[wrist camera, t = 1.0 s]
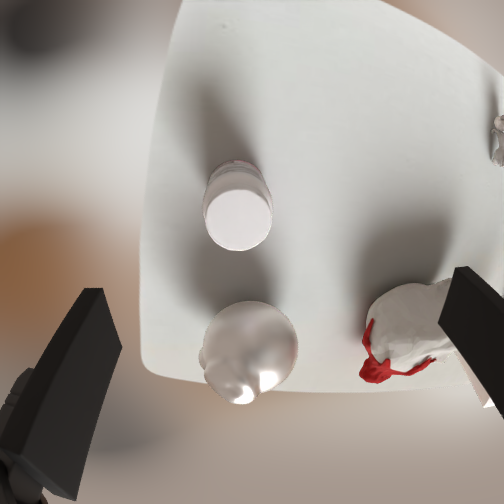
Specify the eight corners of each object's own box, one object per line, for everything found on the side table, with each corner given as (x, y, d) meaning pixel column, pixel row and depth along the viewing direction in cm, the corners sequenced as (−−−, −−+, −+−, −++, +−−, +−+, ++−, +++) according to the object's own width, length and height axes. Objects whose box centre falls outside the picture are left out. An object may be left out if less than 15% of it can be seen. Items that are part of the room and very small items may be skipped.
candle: (458, 265, 30) (395, 351, 38) (387, 242, 28) (325, 344, 36) (497, 317, 23) (416, 405, 30) (427, 304, 21) (340, 407, 28)
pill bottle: (258, 217, 27) (267, 263, 20) (204, 208, 27) (192, 250, 19) (270, 165, 25) (287, 191, 18) (214, 154, 25) (204, 175, 17)
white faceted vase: (443, 353, 38) (489, 428, 24) (444, 334, 36) (497, 413, 22) (467, 340, 37) (515, 410, 24) (469, 320, 35) (524, 392, 22)
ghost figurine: (192, 288, 30) (179, 361, 21) (289, 278, 30) (310, 350, 21) (208, 353, 34) (203, 426, 25) (291, 345, 34) (306, 417, 25)
